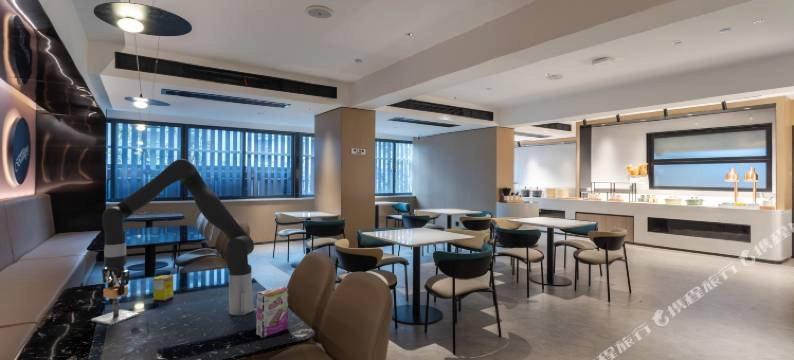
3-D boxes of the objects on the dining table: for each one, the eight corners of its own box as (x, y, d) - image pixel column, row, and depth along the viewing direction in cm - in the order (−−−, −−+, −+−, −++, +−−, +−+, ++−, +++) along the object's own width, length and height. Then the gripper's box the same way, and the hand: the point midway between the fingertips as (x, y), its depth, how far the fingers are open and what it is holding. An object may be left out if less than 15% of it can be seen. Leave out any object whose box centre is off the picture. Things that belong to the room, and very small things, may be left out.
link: (127, 294, 164) (127, 286, 164) (113, 299, 158) (113, 290, 158) (118, 292, 166) (118, 284, 166) (103, 297, 161) (103, 288, 161)
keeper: (139, 314, 166) (139, 296, 166) (110, 325, 155) (110, 306, 155) (121, 311, 170) (120, 293, 170) (91, 321, 159) (90, 302, 159)
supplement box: (173, 297, 189) (173, 275, 188) (165, 301, 183) (164, 278, 182) (162, 297, 189) (162, 274, 189) (153, 301, 183) (153, 278, 183)
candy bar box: (263, 338, 144) (262, 294, 143) (255, 335, 147) (255, 292, 146) (288, 329, 152) (288, 287, 152) (281, 326, 155) (281, 285, 155)
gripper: (136, 254, 163) (136, 293, 163) (113, 251, 168) (113, 289, 168) (117, 257, 156) (118, 299, 156) (94, 254, 161) (94, 294, 161)
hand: (115, 293), depth 162 cm, fingers closed on link, 6 cm apart
